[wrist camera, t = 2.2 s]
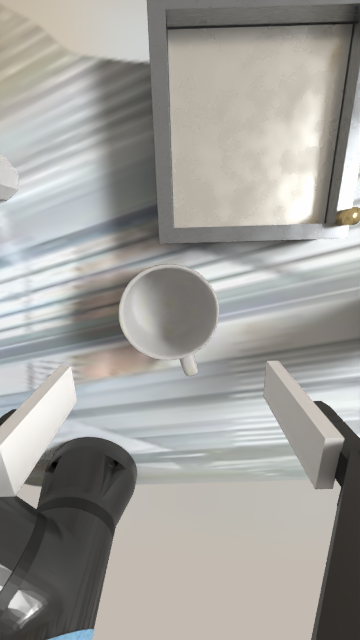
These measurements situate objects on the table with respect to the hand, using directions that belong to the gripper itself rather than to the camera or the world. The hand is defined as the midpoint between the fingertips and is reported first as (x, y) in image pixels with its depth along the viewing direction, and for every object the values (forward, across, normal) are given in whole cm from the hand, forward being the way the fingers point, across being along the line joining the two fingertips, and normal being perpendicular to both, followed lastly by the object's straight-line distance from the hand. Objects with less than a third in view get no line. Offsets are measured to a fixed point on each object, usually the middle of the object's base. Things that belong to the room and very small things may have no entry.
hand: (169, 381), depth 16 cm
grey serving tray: (+18, +9, +19) cm, 28 cm away
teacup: (+18, 0, 0) cm, 18 cm away
